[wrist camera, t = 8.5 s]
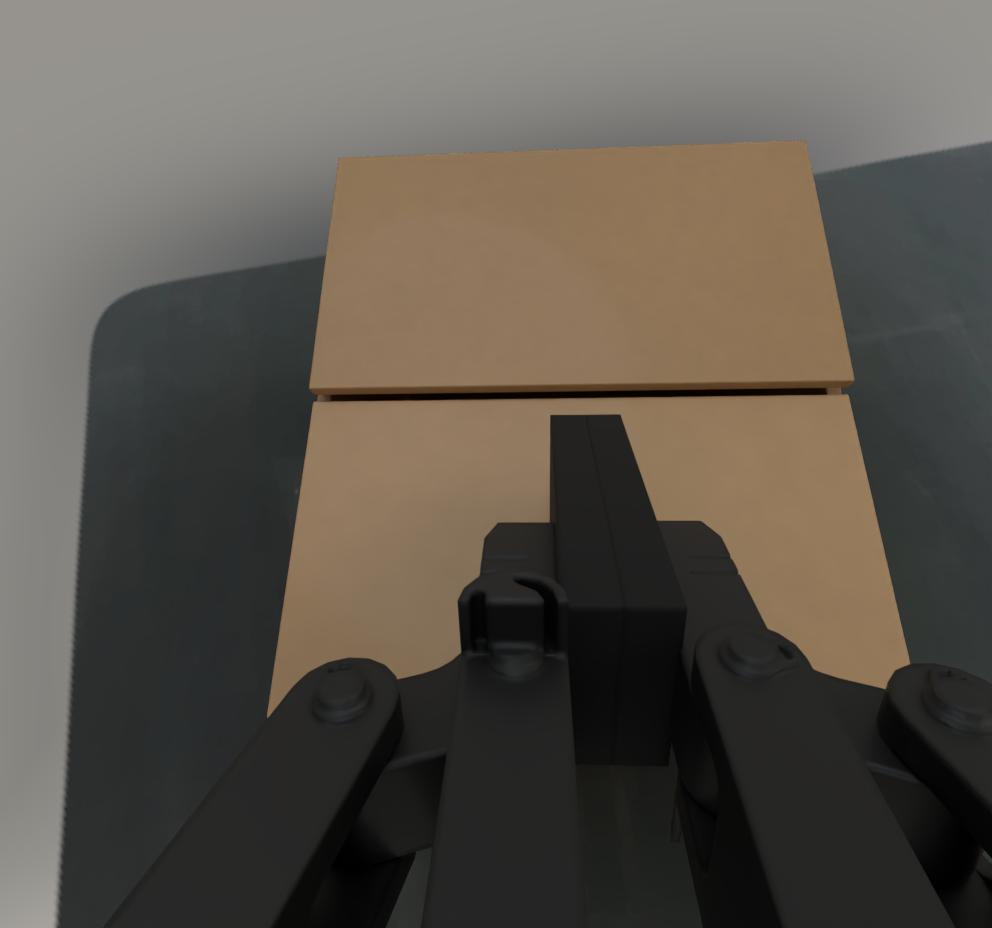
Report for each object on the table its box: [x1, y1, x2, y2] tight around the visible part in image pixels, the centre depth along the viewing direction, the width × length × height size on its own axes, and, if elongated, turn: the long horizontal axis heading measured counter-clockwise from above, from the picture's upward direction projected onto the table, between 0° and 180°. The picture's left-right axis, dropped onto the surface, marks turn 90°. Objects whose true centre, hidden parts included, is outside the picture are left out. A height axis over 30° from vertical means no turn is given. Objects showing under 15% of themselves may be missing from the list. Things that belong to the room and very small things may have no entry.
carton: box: [309, 141, 854, 402], centre depth 21 cm, size 16×14×11 cm
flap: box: [267, 395, 910, 717], centre depth 15 cm, size 8×14×1 cm, turn 89°
